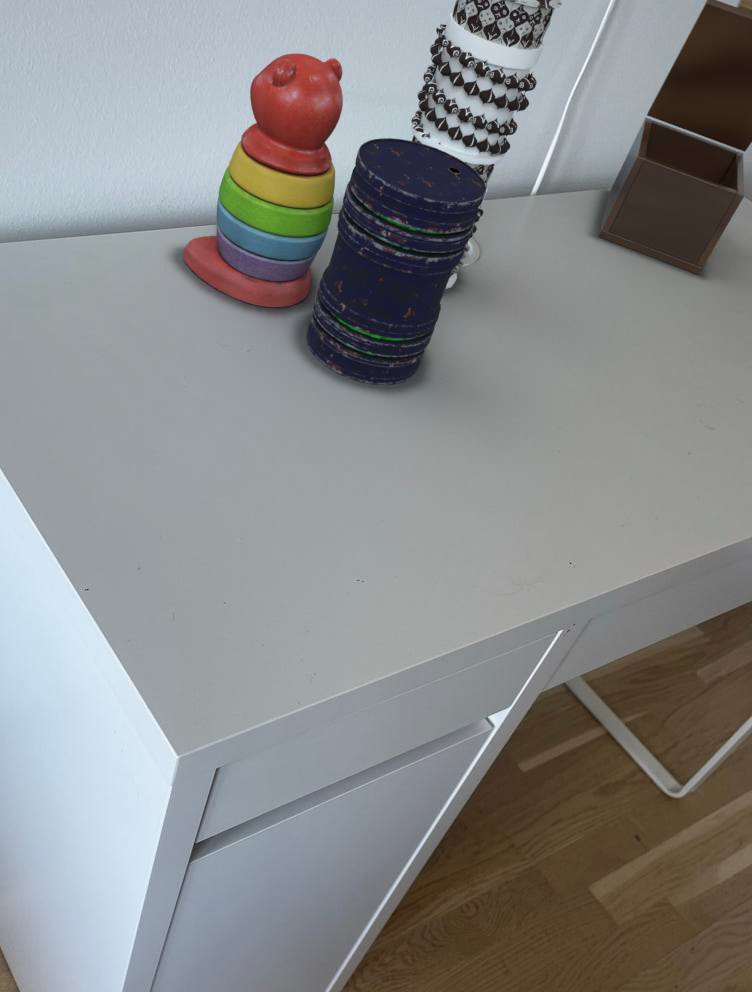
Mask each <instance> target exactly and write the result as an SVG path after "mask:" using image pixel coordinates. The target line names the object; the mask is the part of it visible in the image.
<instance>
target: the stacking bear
mask: <svg viewBox="0 0 752 992" xmlns="http://www.w3.org/2000/svg"><path fill="white" fill-rule="evenodd" d="M342 78H343V67H342V64H341V62H340V61H339V60H338V59H336V58H332V57H331V58H329V59H327V60H325V61H322V60H321V59H319V58H317V57H315V56H313V55H309V54H305V53H288V54H283V55H281V56H279V57H277V58H275V59H273V60H271V62H270V63H268V64H267V65H266V66H265V67H264V68H263V69H262V70H260V72H258V73H257V75H256V76H255V77H253V79H252V81H251V85H250V88H249V92H250V93H249V99H250V106H251V110H252V115H253V117H254V120H255V122H256V123H253V124H251V125H250V126H249V127H248V128H247V129H245V131H244V132H243V133H242V135H241V138H240V140H239V142H238V143H237V145H236V147H235V149H234V151H233V153H232V155H231V157H230V160H229V164H228V165H227V167H226V169H225V171H224V173H223V176H222V177H221V178H222V179H221V182H220V186H219V188H218V196H217V202H216V203H217V204H216V235H205V236H199V237H195V238H192V239H191V240H190V241H189V242H188V243H187V245H186V246H185V248H184V250H183V253H182V257H183V261H184V263H185V264H186V265H187V266H188V267H189V269H190V270H192V272H194V273H195V274H196V275H197V276H198V277H199V278H200V279H202V280H203V281H204V282H206V283H207V284H209V285H210V286H211V287H213V288H215V289H217V290H219V291H220V292H222V293H224V294H226V295H228V296H230V297H232V298H234V299H236V300H240V301H242V302H244V303H248V304H250V305H255V306H258V307H259V306H260V307H267V308H285V307H290V306H291V307H292V306H294V305H297V304H298V303H300V302H302V301H304V300H305V299H306V298H307V296H308V295H309V294H310V290H311V283H312V274H311V266H312V264H313V263H314V261H315V258H316V256H317V254H318V252H319V251H320V249H321V248H322V246H323V244H324V241H325V240H326V238H327V235H328V232H329V227H330V224H331V222H332V217H333V210H334V203H335V202H334V201H335V199H334V194H335V188H336V168H335V164H334V163H333V158H332V153H331V151H330V149H329V147H328V145H327V144H326V142H327V141H328V139H329V138H330V137H331V135H332V134H333V132H334V131H335V129H336V127H337V125H338V123H339V122H340V121H339V120H340V118H341V115H342V111H343V105H344V95H343V89H342V87H341V82H340V81H341V80H342Z"/></svg>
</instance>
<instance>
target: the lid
mask: <svg viewBox="0 0 752 992" xmlns="http://www.w3.org/2000/svg"><path fill="white" fill-rule="evenodd" d="M646 116H647V117H650V118H653V119H654V120H657V121H661V122H662V123H666V124H669V125H670V126H674V127H677V128H679V129H683V130H684V131H688V132H690V133H693V134H696V135H699V136H701V137H704V138H705V139H706V138H707V139H710V140H712V141H715V142H716V143H720V144H723V145H726V146H729V147H731V148H733V149H736V150H739V151H742V152H744V153H745V152H747V150H748V148H749V147H750V146H751V144H752V0H739V1H738V3H737V5H736V6H733V5H731V4H728V3H725V2H724V1H720V0H706V1H705V3H704V5H703V7H702V9H701V11H700V12H699V14H698V16H697V18H696V20H695V22H694V24H693V26H692V27H691V30H690V31H689V34H688V35H687V37H686V39H685V41H684V43H683V45H682V46H681V49H680V50H679V52H678V53H677V56H676V58H675V60H674V62H673V63H672V65H671V67H670V69H669V71H668V73H667V74H666V77H665V79H664V81H663V82H662V84H661V85H660V88H659V89H658V91H657V94H656V95H655V98H654V99H653V101H652V103H651V105H650V107H649V109H648V111H647V113H646Z"/></svg>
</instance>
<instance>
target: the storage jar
mask: <svg viewBox="0 0 752 992" xmlns="http://www.w3.org/2000/svg"><path fill="white" fill-rule="evenodd" d="M485 193H486V184H485V182H484V180H483V179H482V177H481V176H480V175H479V174H478V173H477V172H476V171H475V170H474V169H473V168H472V167H470V166H469V165H468V164H466V163H465V162H463V161H462V160H460V159H458V158H456V157H455V156H453V155H450V154H448V153H446V152H444V151H442V150H439V149H437V148H434V147H431V146H428V145H425V144H421V143H418V142H413V141H412V140H408V139H402V138H393V137H392V138H391V137H382V138H381V137H380V138H374V139H369V140H367V141H365V142H363V143H362V144H361V145H360V146H359V148H358V150H357V153H356V158H355V162H354V167H353V169H352V172H351V175H350V179H349V181H348V182H347V184H346V187H345V190H344V194H343V195H344V196H343V198H342V205H341V208H340V210H339V212H338V216H337V218H338V220H337V231H338V232H337V236H336V240H335V243H334V246H333V250H332V254H331V257H330V261H329V264H328V266H327V267H326V268H324V270H323V273H322V277H321V278H320V280H319V285H318V286H319V287H318V288H317V291H316V293H315V294H316V295H315V298H314V301H313V307H312V314H311V321H310V323H309V325H308V327H307V330H306V337H305V339H306V345H307V346H308V348H309V350H310V351H311V353H312V355H314V356H315V358H316V359H317V360H318V361H319V362H321V364H323V365H325V366H326V367H328V368H329V370H331V371H334V372H335V373H337V374H339V375H341V376H344V377H346V378H348V379H351V380H354V381H357V382H361V383H364V384H372V385H383V386H386V385H387V386H389V385H396V384H401V383H404V382H406V381H408V380H410V379H412V378H413V377H414V376H415V375H416V373H417V372H418V369H419V367H420V363H421V358H422V357H423V355H424V353H425V351H426V348H428V345H429V344H430V343H431V339H432V336H433V334H434V331H435V327H436V324H437V322H438V320H439V317H440V313H441V309H442V304H441V301H442V298H443V296H444V293H445V291H446V289H445V288H446V286H447V283H448V281H449V278H450V275H451V273H452V270H453V269H454V268H455V267H456V266H457V265H458V264H459V261H460V259H463V258H462V257H463V254H464V248H465V245H466V244H467V243H468V244H469V241H470V239H471V238H470V236H471V233H472V231H473V228H474V222H475V219H476V216H477V214H478V210H479V206H480V205H481V203H482V201H483V198H484V196H485ZM486 194H487V193H486ZM485 197H486V196H485ZM484 199H485V198H484ZM483 202H484V201H483ZM482 204H483V203H482ZM481 206H482V205H481ZM469 238H470V239H469Z"/></svg>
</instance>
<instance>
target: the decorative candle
mask: <svg viewBox="0 0 752 992" xmlns="http://www.w3.org/2000/svg"><path fill="white" fill-rule="evenodd" d="M562 5H563V3H562V1H561V0H456V1H455V3H454V6H453V11H452V12H451V13H449V16H448V19H447V21H446V24H443V23H441V24H440V25H439V27H440V28H439V27H436V29H435V31H436V32H435V33H436V34H437V36H438V37H437V38H435V40H434V43H432V44H431V45H430V47H429V52H430V54H431V57H430V61H431V63H432V64H429V65H428V67H427V69H426V71H425V72H424V74H423V77H422V78H423V81H424V83H425V84H423V86H422V88H421V90H420V91H418V92H417V99H418V100H419V101H418V104H417V105H418V108H419V109H417V110H416V111H415V114H414V115H413V117H412V118H411V120H410V121H411V124H410V128H411V133H412V135H413V136H412V140H411V141H413V142H418V143H421V144H425V145H428V146H431V147H434V148H437V149H439V150H442V151H444V152H446V153H448V154H450V155H453V156H455V157H456V158H458V159H460V160H462V161H463V162H465V163H466V164H468V165H469V166H470V167H472V168H473V169H474V170H475V171H476V172H477V173H478V174H479V175H480V176H481V177H482V179H483V180H484V182H485V184H486V193H485V196H484V198H483V201H482V203H481V205H480V206H479V210H478V214H477V216H476V219H475V222H474V228H473V231H472V233H471V236H470V238H469V240H470V239H472V238H473V236H474V234H475V233H476V232H477V231H478V229H477V228H478V227H477V225H476V223H478V222H479V221H480V219H481V217H482V216H483V215H484V210H483V208H482V205H483V204H484V201H485V198H486V195H487V193H488V190H489V187H488V182H489V181H490V178H491V176H492V174H493V172H494V169H495V165H496V164H498V163H501V162H502V160H503V159H504V157H505V155H506V154H507V152H508V151H509V150H510V149H511V144H510V142H509V141H508V138H507V136H512V135H514V134H516V132H517V131H518V124H517V122H516V121H515V119H514V114H517V113H519V112H523V111H525V110H526V109H527V108H528V107H530V101H529V99H528V98H527V96H526V92H531V91H533V90H535V89H536V86H537V84H538V83H537V82H538V81H537V79H536V77H534V75H533V72H531V73H530V71H531V69H533V68H534V67H535V66H536V65H537V64H538V61H539V58H540V56H541V53H542V51H543V48H544V46H545V45H544V42H543V41H544V37H545V36H546V35H545V34H546V32H547V31H548V28H549V27H550V24H551V19H552V16H553V14H554V12H555V10H556V9H559V8H560V7H561V6H562ZM523 92H524V93H523ZM515 112H516V113H515ZM470 250H471V246H470V245H469V242H468V243H467V244H466V245H465V248H464V254H463V257H462V258H461V259H460V261H459V264H458V265H457V266H456V267H455V268H454V269H453V270H452V273H451V275H450V278H449V281H448V283H447V286H446V288H445V290H447V289H450V288H452V287H453V286H454V284H455V283H456V281H457V278H458V273H460V270H461V269H460V268H462V267H464V261H463V259H464V258H465V257H466V255H467V252H469V251H470Z"/></svg>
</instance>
